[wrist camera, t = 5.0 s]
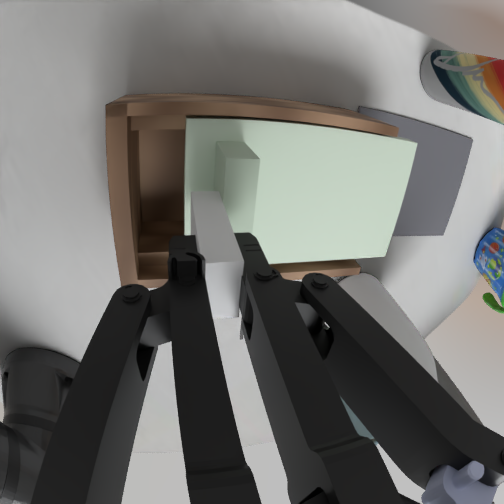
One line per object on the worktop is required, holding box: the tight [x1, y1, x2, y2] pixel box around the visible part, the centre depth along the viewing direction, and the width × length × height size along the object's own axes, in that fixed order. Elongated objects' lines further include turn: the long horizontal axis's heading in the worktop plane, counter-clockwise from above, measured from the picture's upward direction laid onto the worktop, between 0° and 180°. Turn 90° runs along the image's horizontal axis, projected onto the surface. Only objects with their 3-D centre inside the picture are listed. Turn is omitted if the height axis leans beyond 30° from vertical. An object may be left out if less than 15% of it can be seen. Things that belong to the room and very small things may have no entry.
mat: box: [358, 106, 473, 236], centre depth 29 cm, size 17×13×1 cm
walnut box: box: [106, 93, 399, 288], centre depth 22 cm, size 18×12×7 cm, turn 84°
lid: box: [184, 116, 418, 264], centre depth 19 cm, size 16×10×5 cm, turn 84°
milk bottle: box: [338, 273, 438, 382], centre depth 28 cm, size 8×8×20 cm
